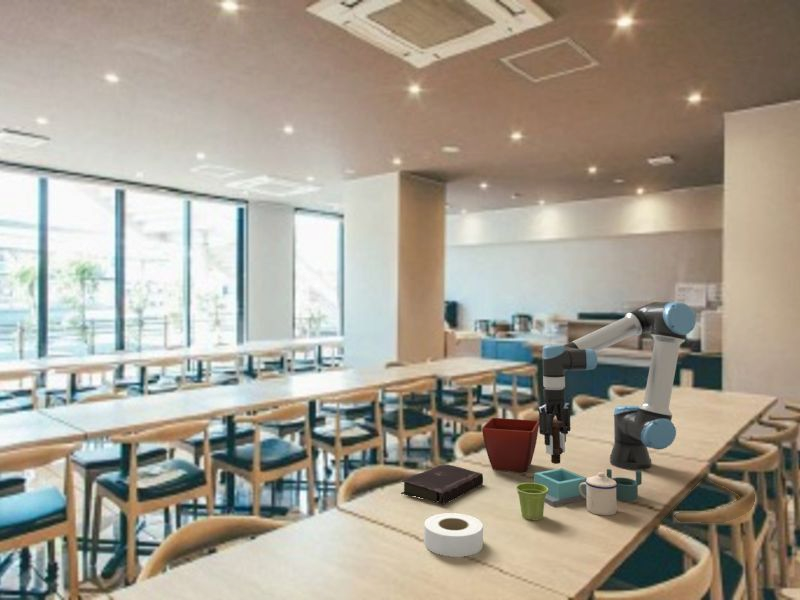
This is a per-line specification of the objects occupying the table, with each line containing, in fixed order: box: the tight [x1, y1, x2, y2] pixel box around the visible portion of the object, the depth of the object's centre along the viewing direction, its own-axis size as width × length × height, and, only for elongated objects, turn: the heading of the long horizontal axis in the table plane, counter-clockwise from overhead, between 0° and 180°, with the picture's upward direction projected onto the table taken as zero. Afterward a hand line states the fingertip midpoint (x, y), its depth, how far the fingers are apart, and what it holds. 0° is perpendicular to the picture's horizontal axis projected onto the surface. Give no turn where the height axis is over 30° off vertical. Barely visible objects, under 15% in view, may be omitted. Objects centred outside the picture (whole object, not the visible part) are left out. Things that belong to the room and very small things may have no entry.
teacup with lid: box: [579, 471, 617, 517], centre depth 170 cm, size 12×9×12 cm
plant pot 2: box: [515, 482, 548, 521], centre depth 165 cm, size 9×9×9 cm
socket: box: [533, 467, 588, 507], centre depth 183 cm, size 18×13×6 cm
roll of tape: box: [423, 512, 484, 558], centre depth 147 cm, size 16×16×6 cm
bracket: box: [606, 468, 643, 502], centre depth 181 cm, size 9×9×9 cm
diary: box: [399, 463, 484, 506], centre depth 189 cm, size 19×25×5 cm
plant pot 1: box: [481, 417, 539, 474], centre depth 213 cm, size 19×19×17 cm
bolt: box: [550, 419, 564, 465], centre depth 197 cm, size 6×5×15 cm
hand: (555, 452), depth 197 cm, fingers closed on bolt, 5 cm apart
